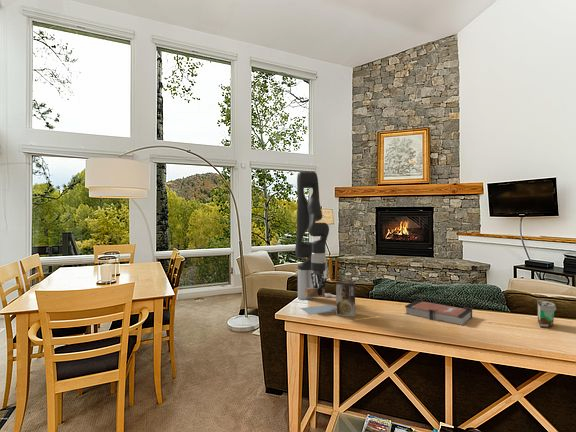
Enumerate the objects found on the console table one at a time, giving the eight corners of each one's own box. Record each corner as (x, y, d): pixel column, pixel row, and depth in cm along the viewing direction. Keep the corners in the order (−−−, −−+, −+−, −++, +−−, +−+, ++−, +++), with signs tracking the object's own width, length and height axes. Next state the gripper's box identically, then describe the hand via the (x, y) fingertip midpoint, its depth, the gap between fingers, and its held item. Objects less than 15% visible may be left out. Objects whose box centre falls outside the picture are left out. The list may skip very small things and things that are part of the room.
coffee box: (354, 313, 167) (354, 281, 167) (355, 317, 160) (355, 284, 160) (335, 313, 168) (335, 281, 168) (336, 316, 161) (336, 283, 161)
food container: (558, 331, 142) (558, 307, 142) (540, 328, 145) (540, 305, 145) (554, 323, 152) (554, 301, 152) (537, 320, 155) (537, 299, 155)
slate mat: (300, 309, 174) (300, 308, 174) (330, 305, 181) (330, 304, 181) (310, 315, 163) (310, 314, 163) (341, 311, 170) (341, 310, 170)
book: (404, 315, 166) (404, 305, 165) (418, 308, 178) (418, 298, 178) (461, 327, 148) (461, 316, 148) (472, 318, 161) (472, 307, 161)
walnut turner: (308, 297, 166) (309, 289, 166) (302, 294, 173) (303, 286, 173) (336, 298, 172) (337, 290, 172) (329, 295, 179) (330, 287, 179)
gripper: (306, 259, 177) (305, 291, 177) (318, 263, 164) (318, 298, 164) (318, 258, 180) (318, 290, 180) (331, 262, 167) (331, 297, 167)
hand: (318, 294), depth 172 cm, fingers closed on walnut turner, 3 cm apart
